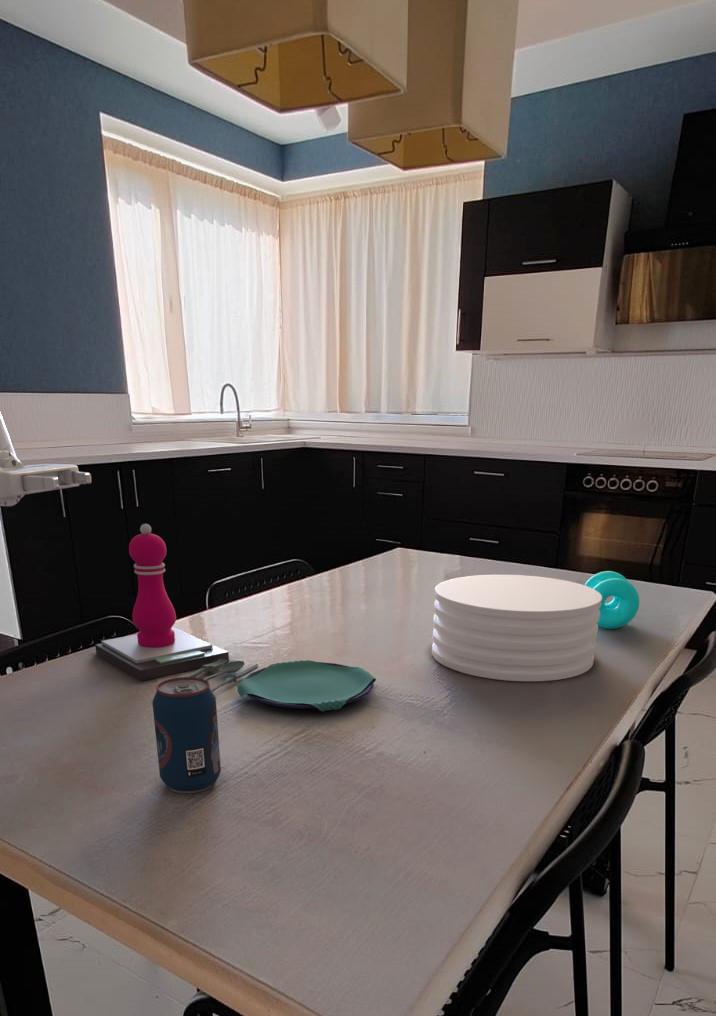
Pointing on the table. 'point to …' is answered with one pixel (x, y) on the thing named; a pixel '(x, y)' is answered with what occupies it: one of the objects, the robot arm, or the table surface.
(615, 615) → the donuts
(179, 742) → the soda can
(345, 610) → the table surface
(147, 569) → the pepper mill
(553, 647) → the plate stack
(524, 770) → the table surface
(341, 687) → the cutlery set
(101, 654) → the kitchen scale
